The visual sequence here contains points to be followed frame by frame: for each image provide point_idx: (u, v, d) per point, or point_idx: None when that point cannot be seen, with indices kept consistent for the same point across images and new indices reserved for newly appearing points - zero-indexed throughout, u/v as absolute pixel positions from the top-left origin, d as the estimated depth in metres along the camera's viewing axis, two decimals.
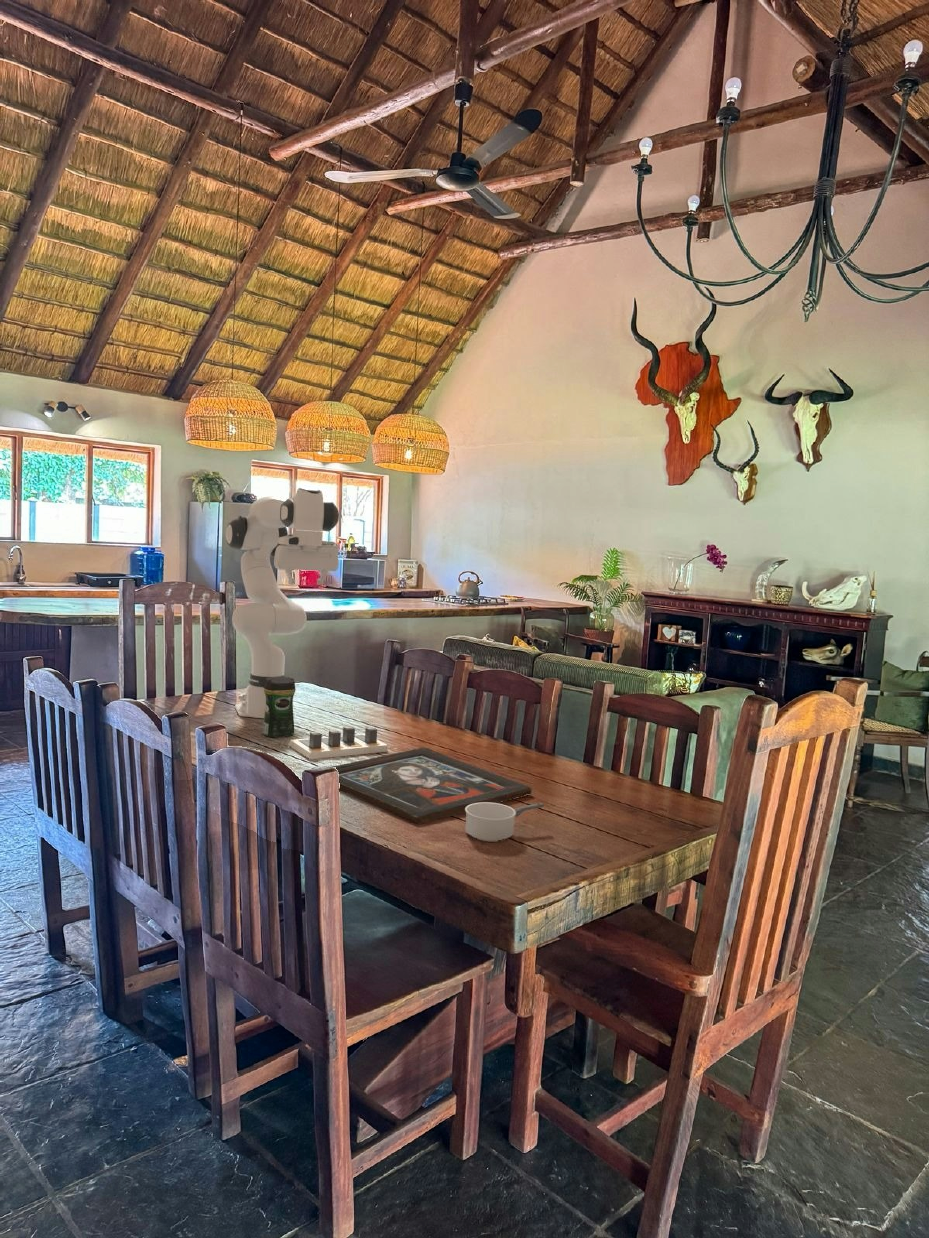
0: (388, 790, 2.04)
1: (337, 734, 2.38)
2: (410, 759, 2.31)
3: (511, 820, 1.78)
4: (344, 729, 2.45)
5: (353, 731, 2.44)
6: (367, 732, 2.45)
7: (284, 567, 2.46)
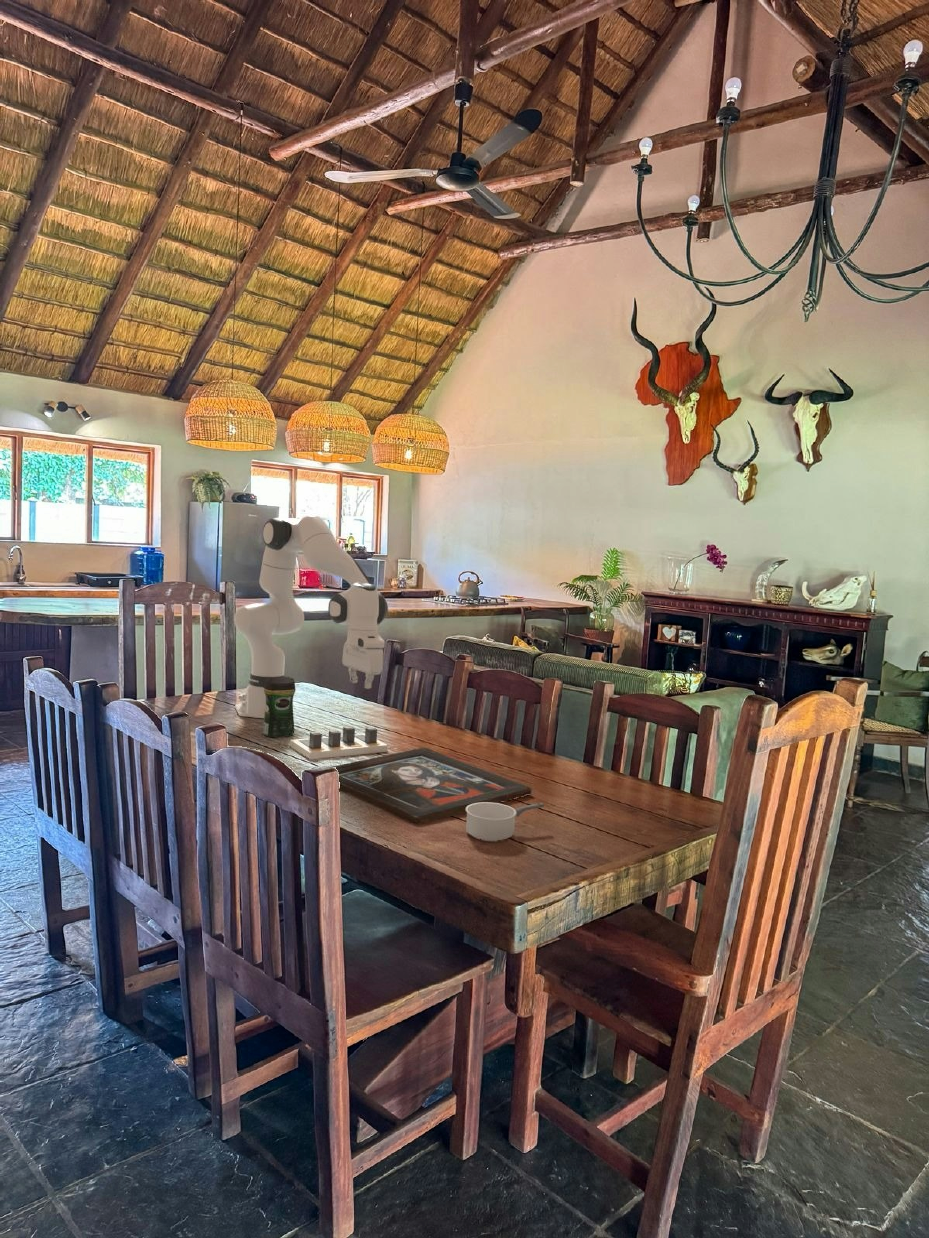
0: (388, 790, 2.04)
1: (337, 734, 2.38)
2: (410, 759, 2.31)
3: (512, 820, 1.78)
4: (344, 729, 2.45)
5: (353, 731, 2.44)
6: (367, 732, 2.45)
7: None
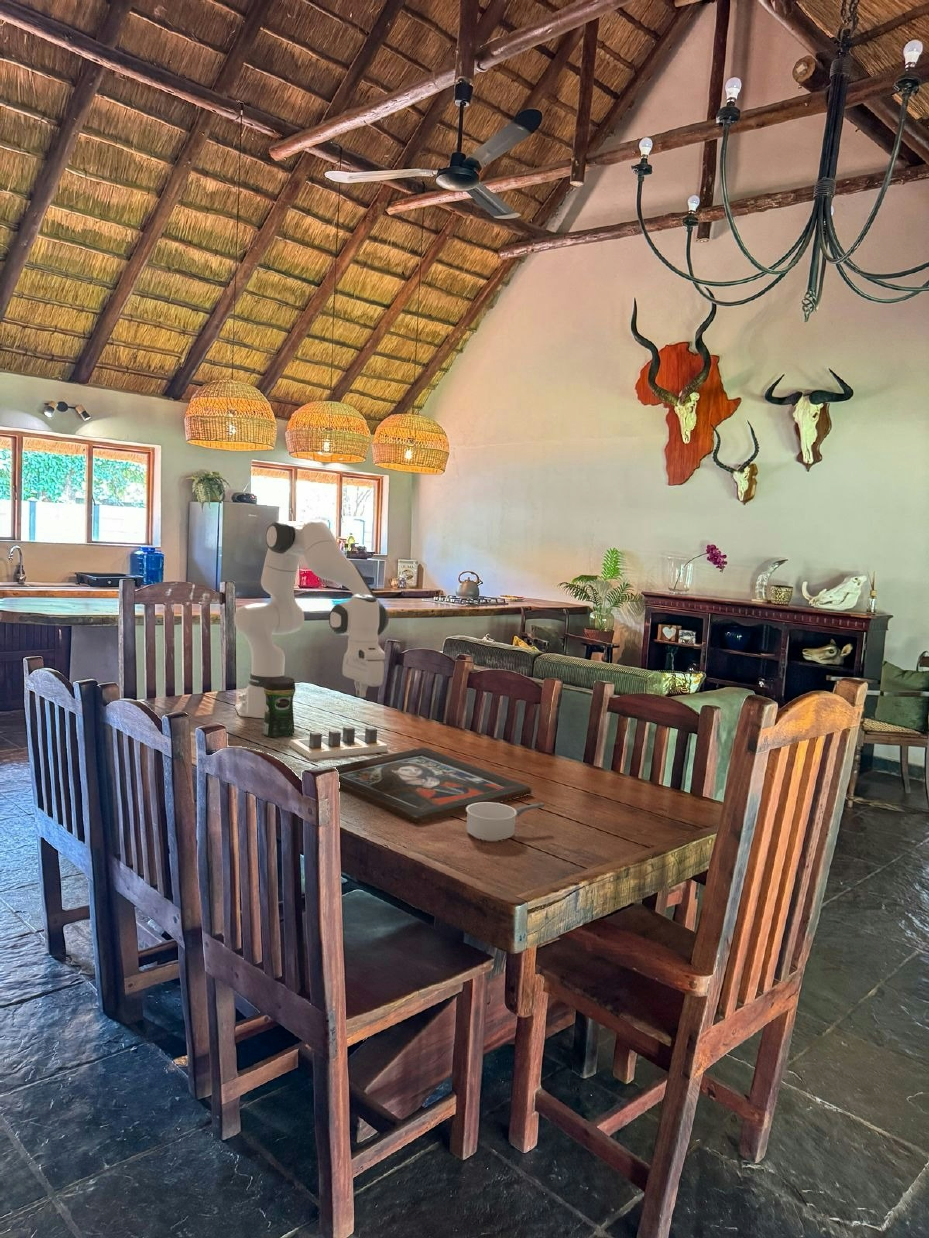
0: (388, 790, 2.04)
1: (337, 734, 2.38)
2: (410, 759, 2.32)
3: (512, 820, 1.78)
4: (344, 729, 2.45)
5: (353, 731, 2.44)
6: (367, 732, 2.45)
7: None
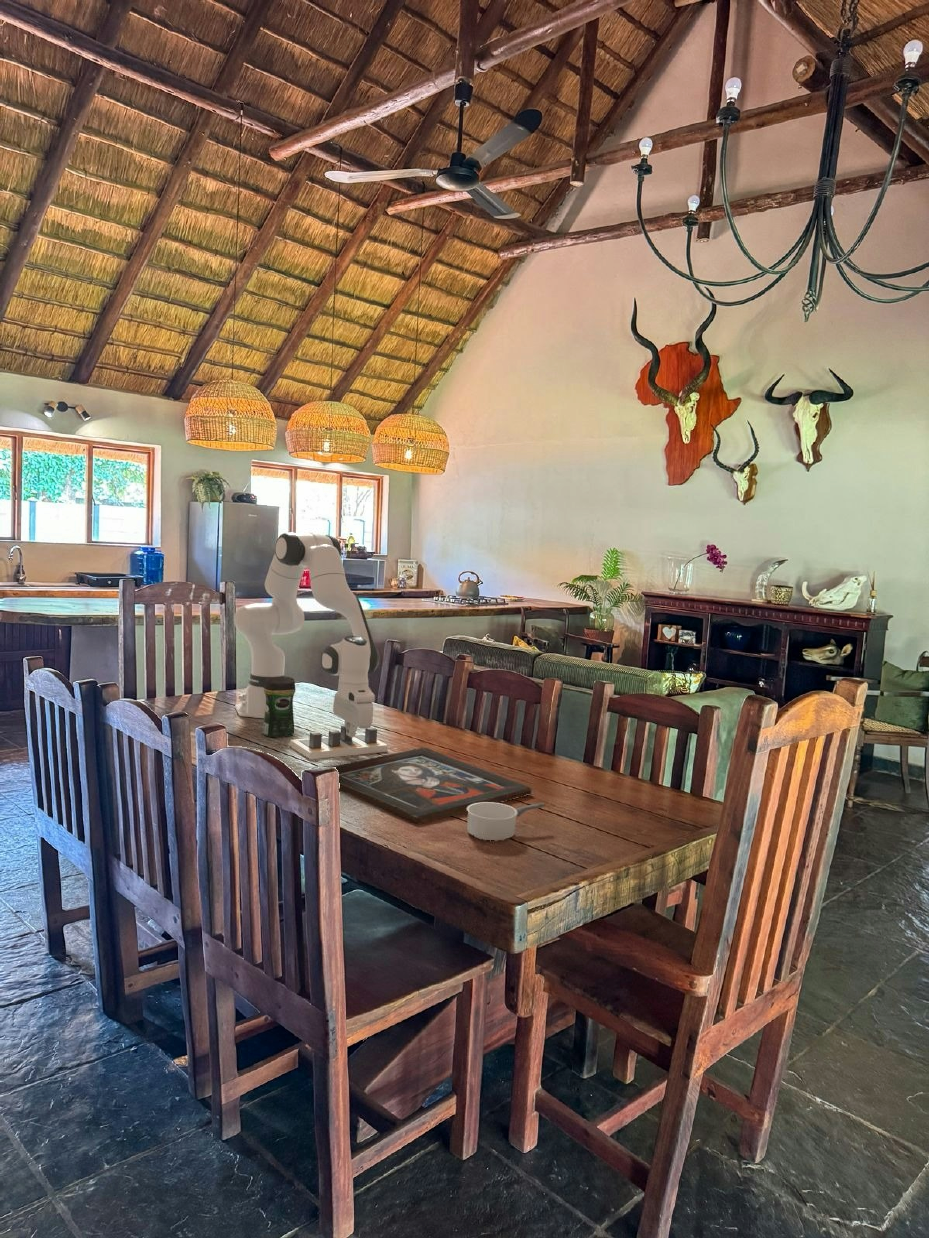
0: (388, 790, 2.04)
1: (337, 734, 2.38)
2: (410, 759, 2.32)
3: (513, 820, 1.78)
4: (342, 728, 2.46)
5: None
6: (367, 732, 2.45)
7: None
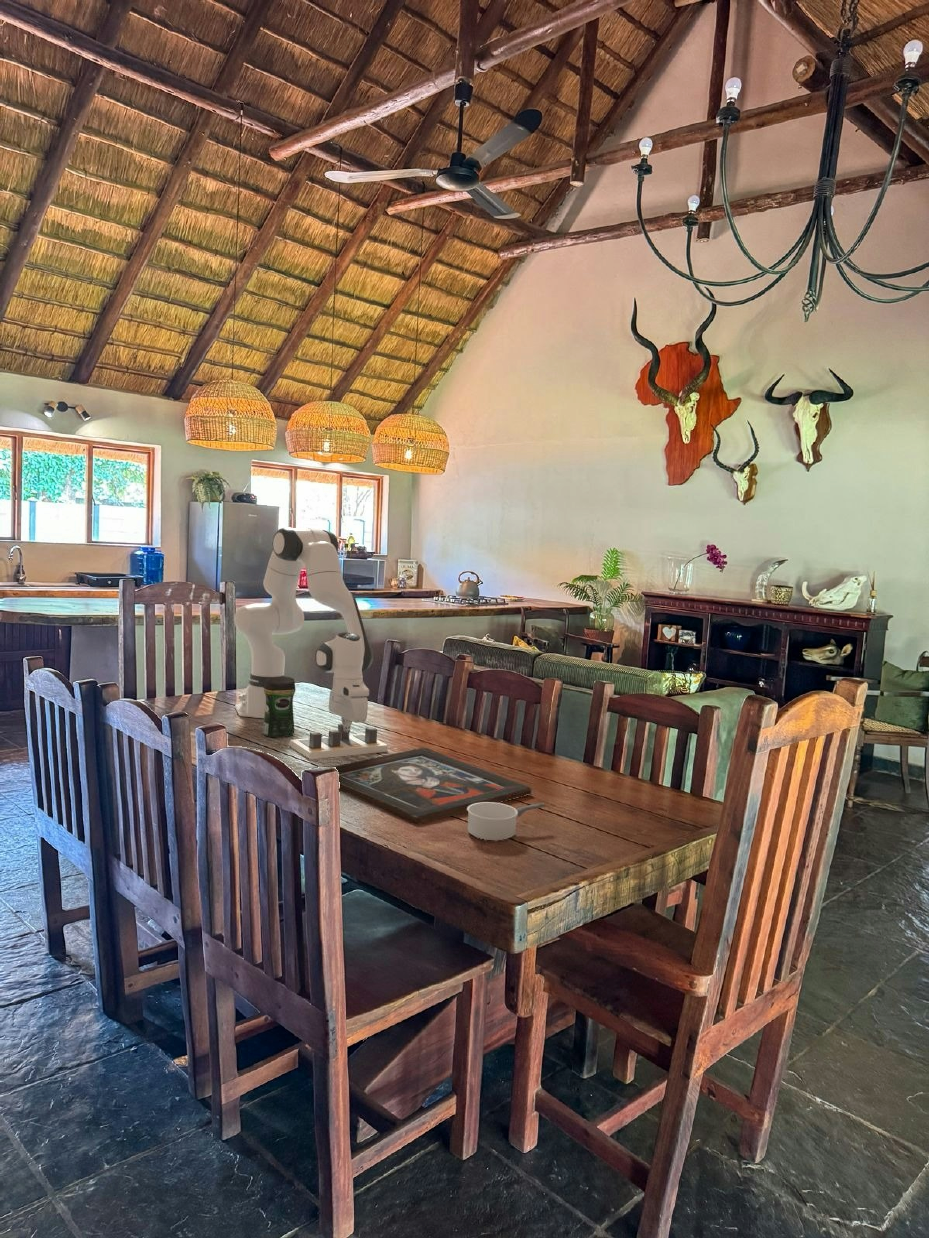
0: (388, 790, 2.04)
1: (337, 734, 2.38)
2: (410, 759, 2.32)
3: (513, 820, 1.78)
4: (339, 726, 2.48)
5: None
6: (367, 732, 2.45)
7: None
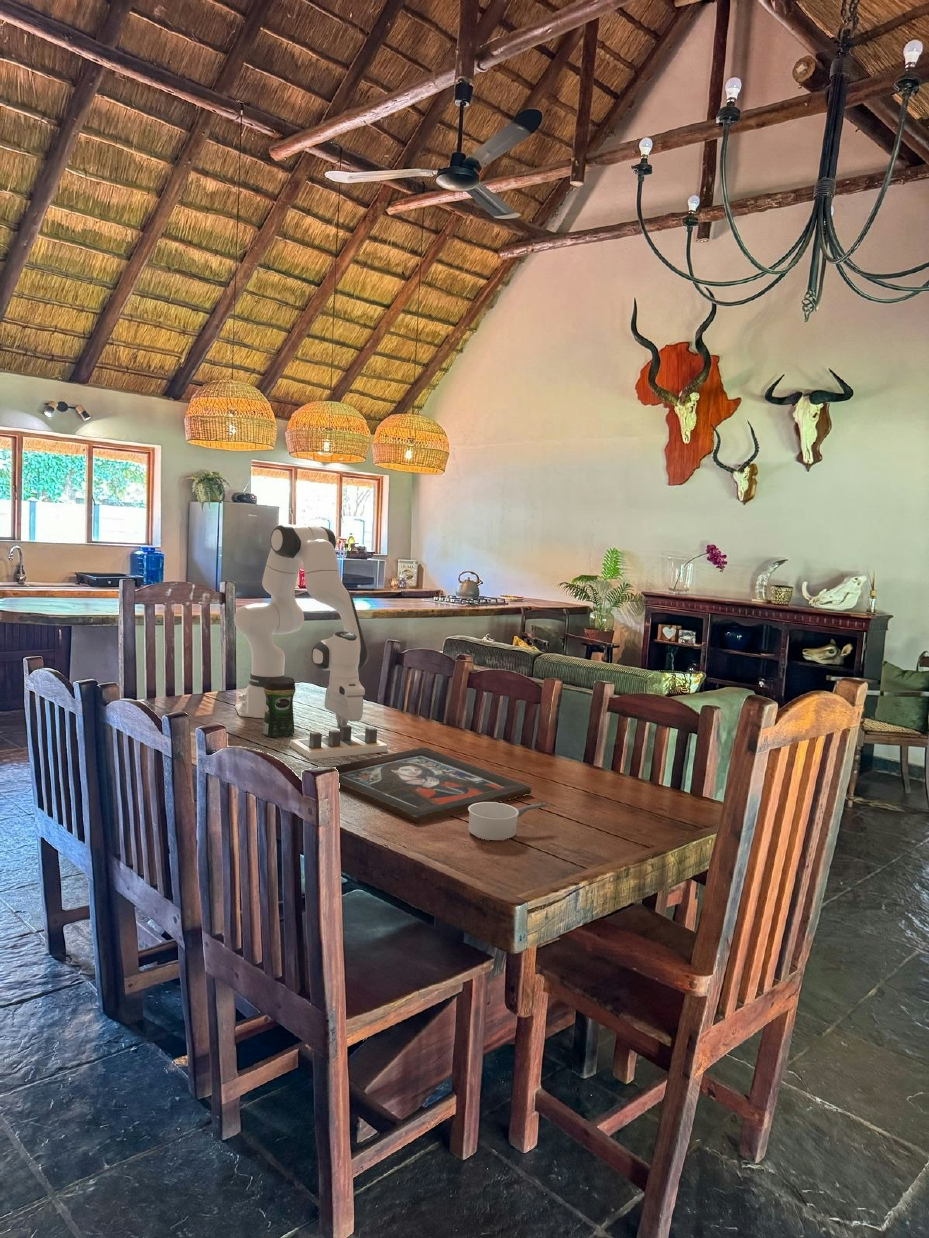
0: (388, 790, 2.04)
1: (337, 734, 2.38)
2: (410, 759, 2.32)
3: (514, 820, 1.79)
4: (341, 727, 2.47)
5: (350, 729, 2.46)
6: (367, 732, 2.45)
7: None
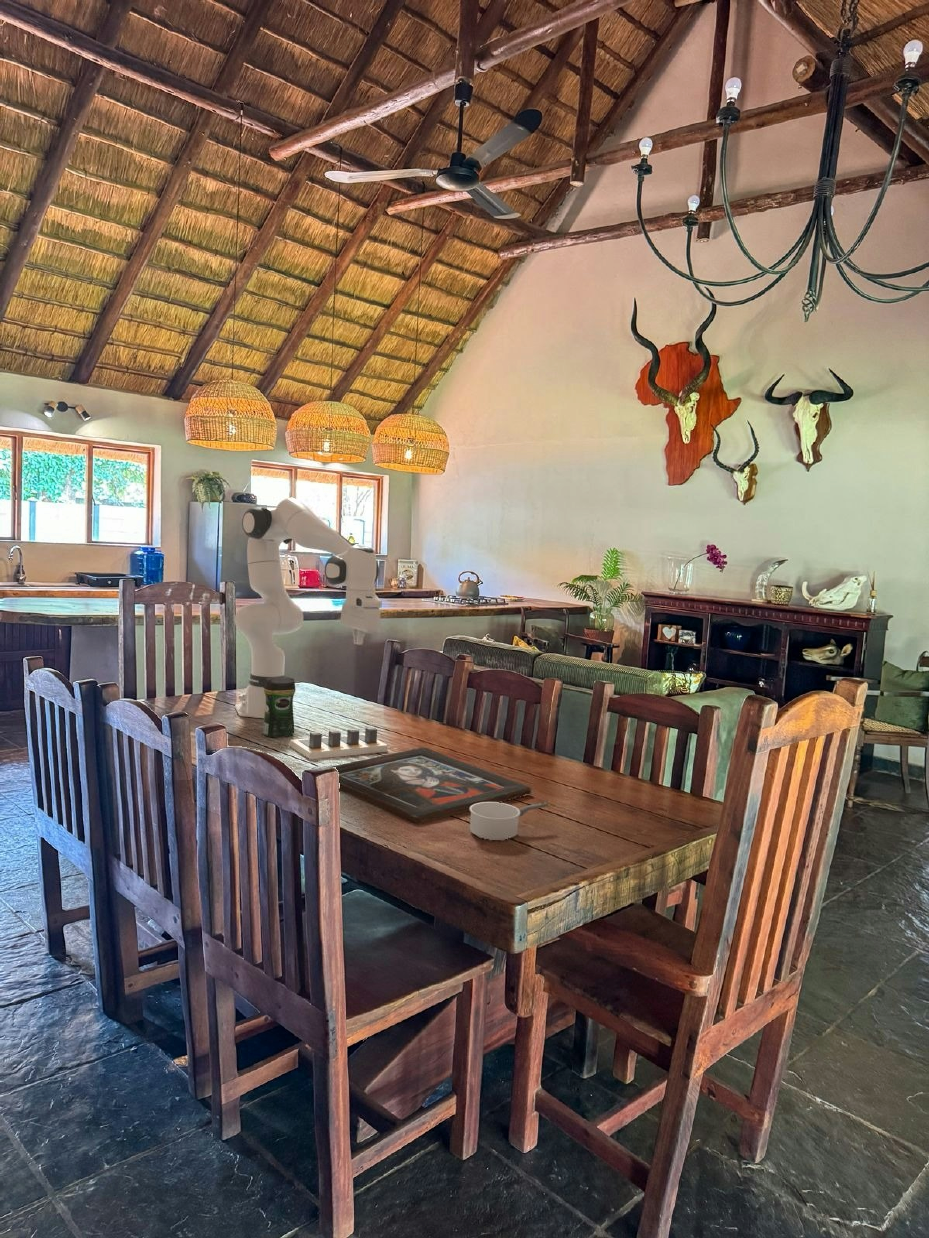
0: (388, 790, 2.04)
1: (337, 734, 2.38)
2: (410, 759, 2.32)
3: (515, 819, 1.79)
4: (348, 731, 2.42)
5: (357, 733, 2.42)
6: (367, 732, 2.45)
7: None
